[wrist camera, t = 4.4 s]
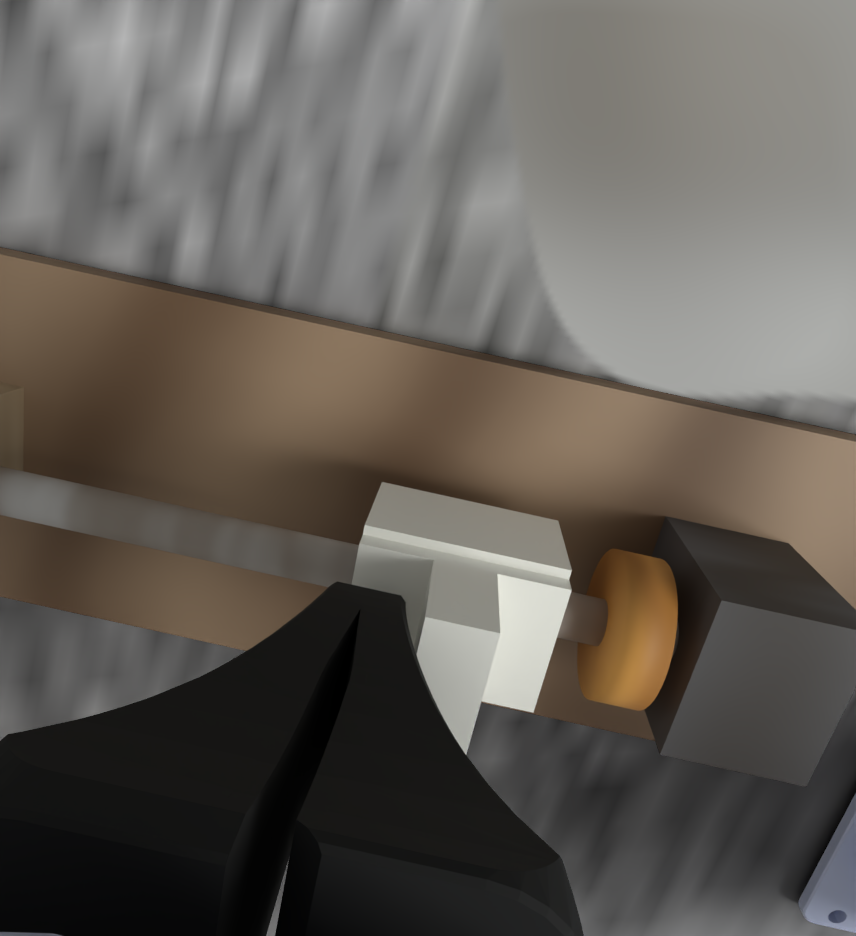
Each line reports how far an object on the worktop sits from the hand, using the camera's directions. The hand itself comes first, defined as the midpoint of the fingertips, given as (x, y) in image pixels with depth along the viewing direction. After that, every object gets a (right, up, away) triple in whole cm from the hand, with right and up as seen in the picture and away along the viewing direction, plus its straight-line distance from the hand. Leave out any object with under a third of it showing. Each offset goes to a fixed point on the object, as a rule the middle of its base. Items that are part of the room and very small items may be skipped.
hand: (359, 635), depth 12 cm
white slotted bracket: (+2, +1, +3) cm, 4 cm away
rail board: (+1, +2, +6) cm, 6 cm away
